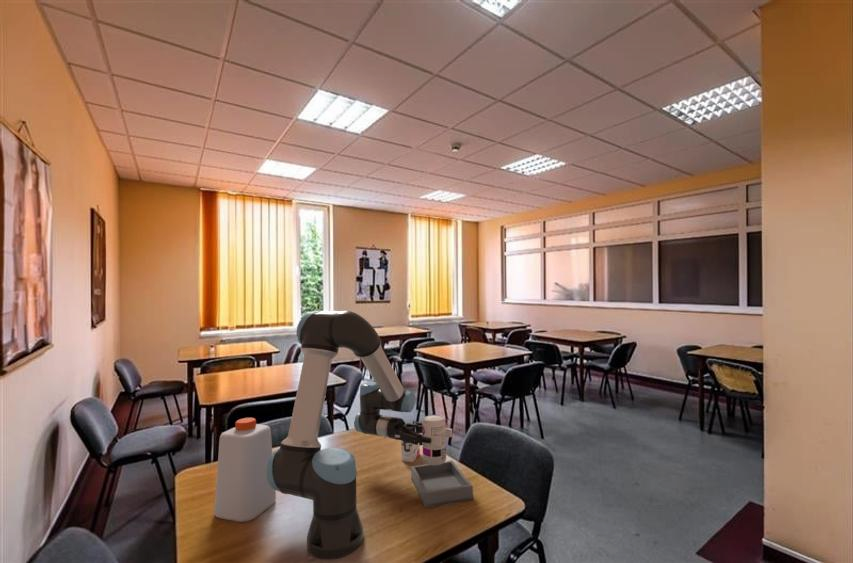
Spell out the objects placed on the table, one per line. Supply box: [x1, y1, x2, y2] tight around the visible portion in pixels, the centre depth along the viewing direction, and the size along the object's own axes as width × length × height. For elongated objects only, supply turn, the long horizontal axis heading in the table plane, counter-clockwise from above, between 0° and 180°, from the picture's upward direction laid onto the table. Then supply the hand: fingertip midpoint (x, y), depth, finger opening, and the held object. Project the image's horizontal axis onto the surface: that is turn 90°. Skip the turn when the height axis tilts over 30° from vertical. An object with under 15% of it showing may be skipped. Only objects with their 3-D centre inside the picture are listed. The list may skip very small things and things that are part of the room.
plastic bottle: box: [213, 417, 277, 523], centre depth 123 cm, size 15×15×28 cm
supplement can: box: [421, 414, 447, 465], centre depth 135 cm, size 8×8×15 cm
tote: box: [410, 460, 474, 509], centre depth 133 cm, size 20×16×4 cm
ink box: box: [400, 429, 421, 463], centre depth 159 cm, size 8×5×12 cm, turn 160°
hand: (446, 437), depth 133 cm, fingers closed on supplement can, 8 cm apart
